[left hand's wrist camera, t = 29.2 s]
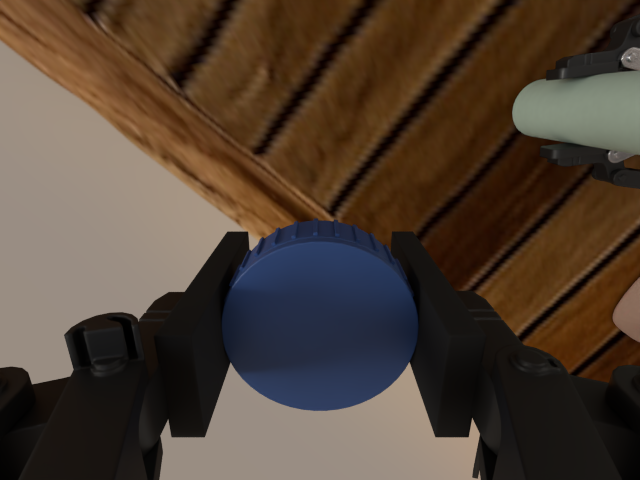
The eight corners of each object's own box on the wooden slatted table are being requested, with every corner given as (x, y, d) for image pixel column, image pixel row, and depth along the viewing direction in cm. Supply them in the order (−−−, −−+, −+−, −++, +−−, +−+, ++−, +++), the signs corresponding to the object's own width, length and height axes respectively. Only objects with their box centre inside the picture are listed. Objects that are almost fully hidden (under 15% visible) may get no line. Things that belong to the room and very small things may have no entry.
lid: (443, 279, 11) (464, 309, 10) (341, 397, 13) (344, 440, 11) (292, 181, 10) (287, 196, 9) (201, 322, 12) (182, 357, 10)
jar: (540, 146, 34) (770, 195, 17) (500, 117, 33) (700, 136, 16) (578, 99, 33) (874, 99, 15) (538, 67, 32) (803, 28, 14)
